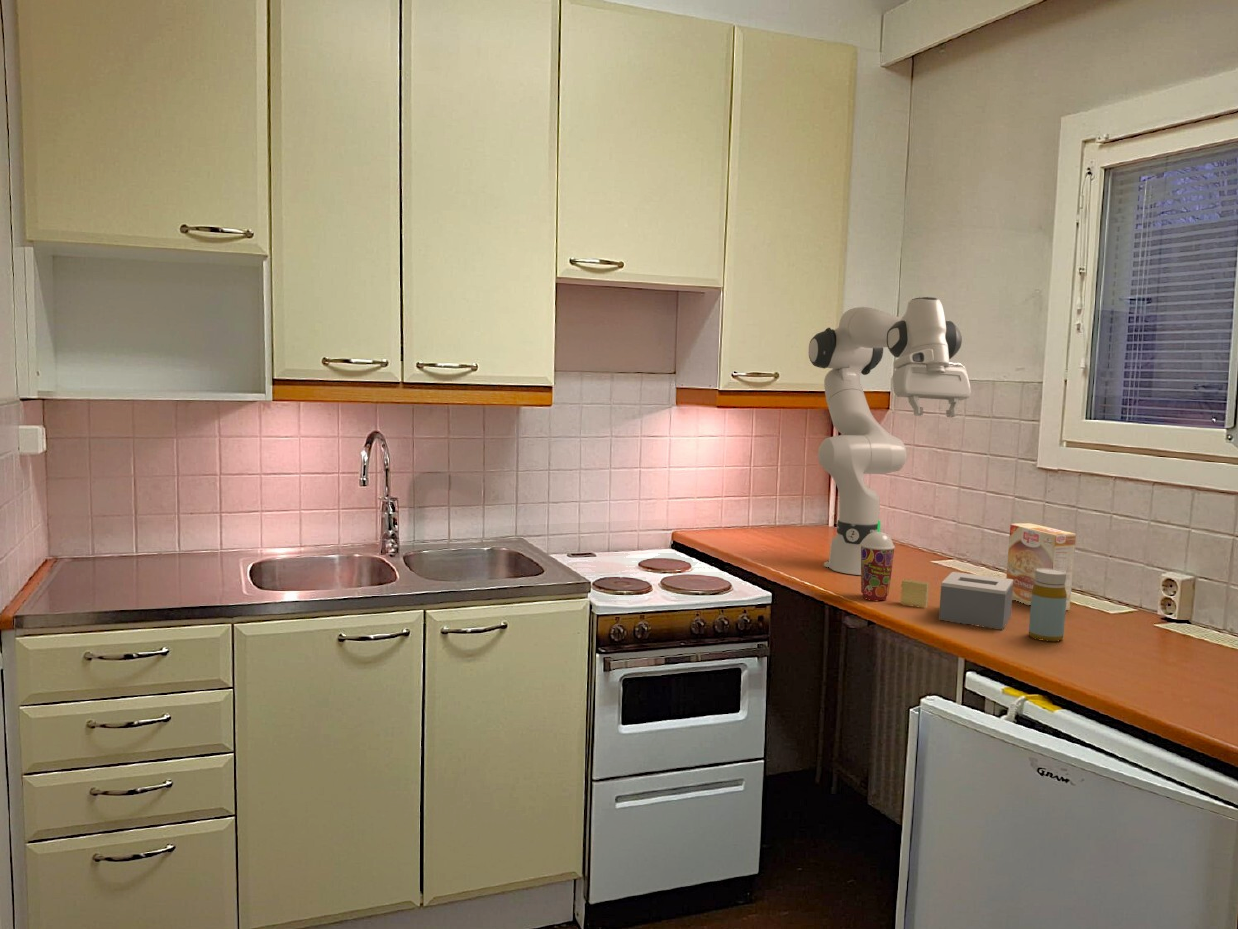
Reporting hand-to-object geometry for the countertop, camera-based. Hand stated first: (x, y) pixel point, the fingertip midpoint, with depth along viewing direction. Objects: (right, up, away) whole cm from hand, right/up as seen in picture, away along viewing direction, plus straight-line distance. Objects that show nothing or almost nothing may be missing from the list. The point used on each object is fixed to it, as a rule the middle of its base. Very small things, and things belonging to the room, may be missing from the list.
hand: (935, 416), depth 229 cm
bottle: (+18, -50, -19) cm, 57 cm away
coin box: (+8, -48, -5) cm, 49 cm away
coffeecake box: (+29, -47, +11) cm, 57 cm away
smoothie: (-12, -46, +12) cm, 49 cm away
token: (-3, -47, +6) cm, 47 cm away
